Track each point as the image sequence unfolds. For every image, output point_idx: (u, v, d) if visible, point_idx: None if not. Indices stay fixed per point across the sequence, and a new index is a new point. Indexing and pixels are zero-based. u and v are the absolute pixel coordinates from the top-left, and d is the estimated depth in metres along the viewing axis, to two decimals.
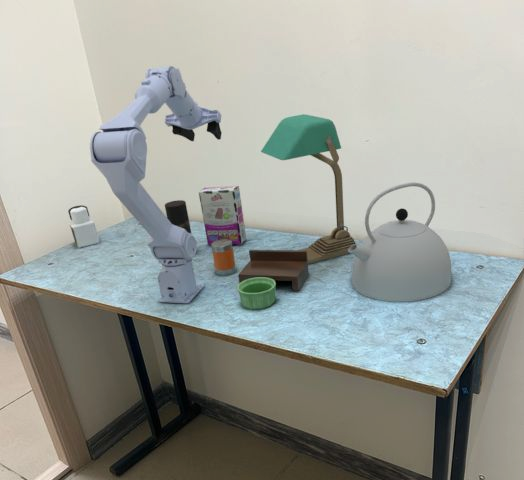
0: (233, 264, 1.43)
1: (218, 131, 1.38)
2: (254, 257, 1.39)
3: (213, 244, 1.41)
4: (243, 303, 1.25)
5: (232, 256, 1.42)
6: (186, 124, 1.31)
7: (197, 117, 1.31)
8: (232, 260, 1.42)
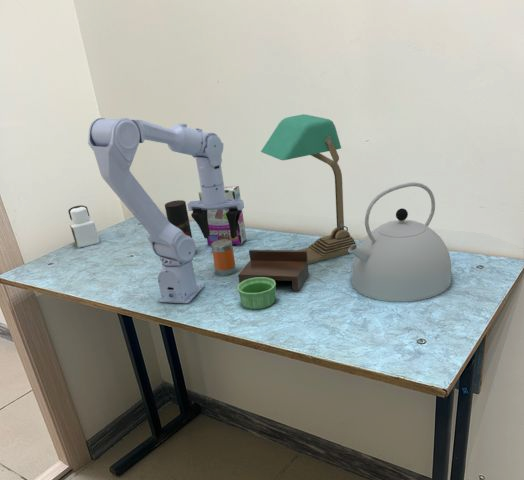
0: (233, 264, 1.43)
1: (234, 229, 1.38)
2: (254, 257, 1.39)
3: (213, 244, 1.41)
4: (243, 303, 1.25)
5: (232, 256, 1.42)
6: (208, 200, 1.33)
7: (221, 198, 1.33)
8: (232, 260, 1.42)
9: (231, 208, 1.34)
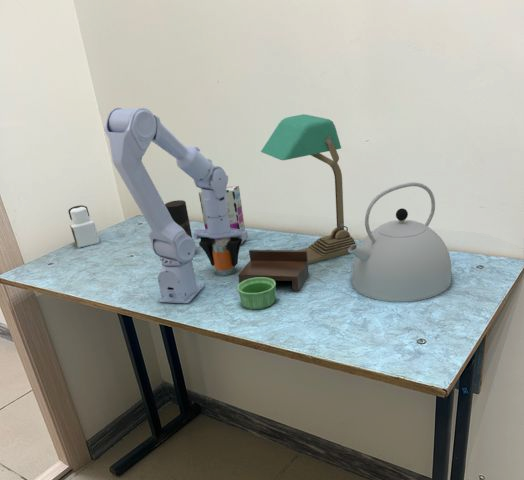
0: None
1: (235, 257, 1.42)
2: (254, 257, 1.39)
3: (213, 244, 1.41)
4: (243, 303, 1.25)
5: None
6: (213, 230, 1.37)
7: (226, 228, 1.37)
8: None
9: (232, 237, 1.39)
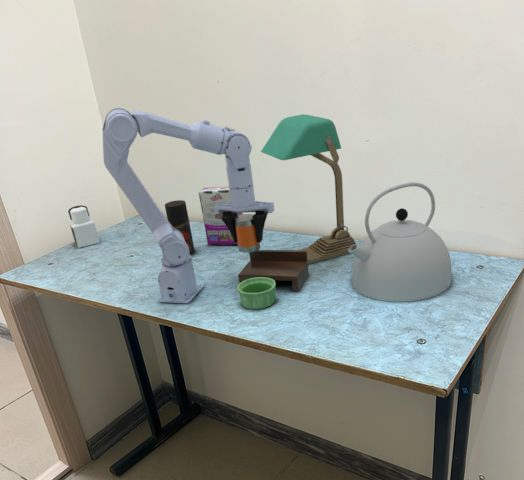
0: None
1: (260, 233, 1.32)
2: (254, 257, 1.39)
3: (236, 218, 1.31)
4: (243, 303, 1.25)
5: None
6: (238, 203, 1.26)
7: (251, 200, 1.27)
8: None
9: (258, 211, 1.28)
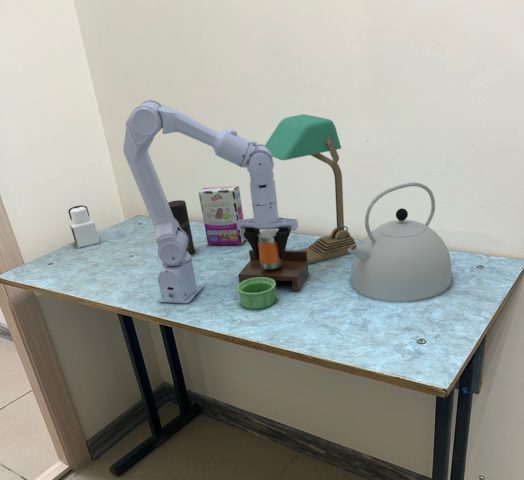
0: None
1: (283, 249, 1.29)
2: (254, 257, 1.39)
3: (259, 235, 1.28)
4: (243, 303, 1.25)
5: None
6: (261, 219, 1.24)
7: (274, 216, 1.24)
8: None
9: (281, 227, 1.26)
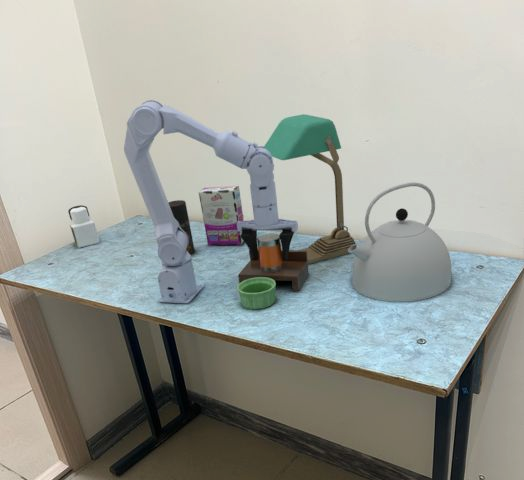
0: (280, 260, 1.31)
1: (287, 251, 1.29)
2: None
3: (259, 238, 1.29)
4: (243, 303, 1.25)
5: (280, 252, 1.30)
6: (261, 221, 1.24)
7: (274, 218, 1.24)
8: (280, 256, 1.30)
9: (284, 229, 1.26)
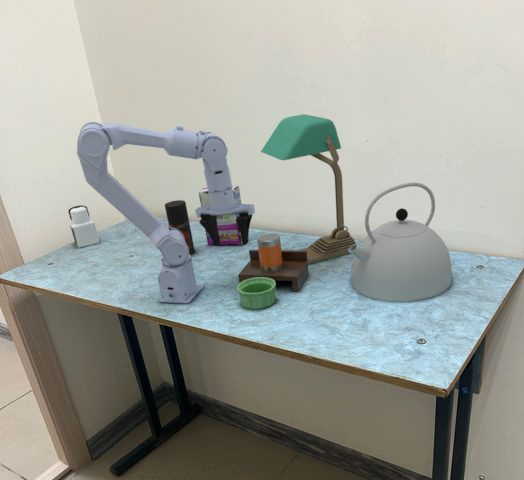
0: (280, 260, 1.31)
1: (246, 235, 1.30)
2: (254, 257, 1.39)
3: (259, 238, 1.29)
4: (243, 303, 1.25)
5: (280, 252, 1.30)
6: (217, 206, 1.25)
7: (230, 202, 1.25)
8: (280, 256, 1.30)
9: (241, 213, 1.27)
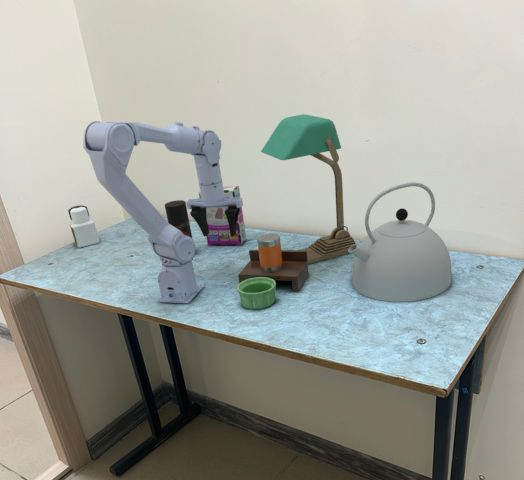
0: (280, 260, 1.31)
1: (234, 227, 1.37)
2: (254, 257, 1.39)
3: (259, 238, 1.29)
4: (243, 303, 1.25)
5: (280, 252, 1.30)
6: (207, 198, 1.32)
7: (220, 195, 1.32)
8: (280, 256, 1.30)
9: (230, 206, 1.33)
